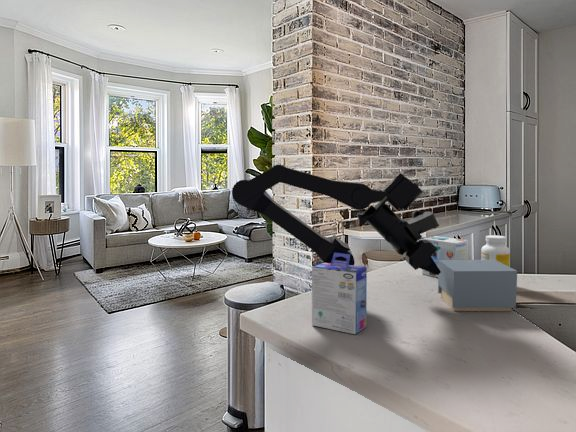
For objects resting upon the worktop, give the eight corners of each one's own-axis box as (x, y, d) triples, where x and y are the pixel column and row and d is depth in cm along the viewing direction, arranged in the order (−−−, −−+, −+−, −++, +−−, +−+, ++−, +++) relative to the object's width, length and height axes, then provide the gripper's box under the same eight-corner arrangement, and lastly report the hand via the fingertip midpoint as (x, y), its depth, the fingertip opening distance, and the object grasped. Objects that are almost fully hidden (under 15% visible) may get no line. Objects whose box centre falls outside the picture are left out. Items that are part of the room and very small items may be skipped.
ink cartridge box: (368, 326, 81) (368, 254, 80) (357, 336, 77) (356, 260, 75) (324, 317, 87) (323, 250, 85) (311, 326, 82) (309, 255, 80)
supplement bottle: (511, 284, 108) (513, 236, 106) (504, 290, 103) (506, 239, 102) (485, 280, 112) (486, 233, 111) (476, 285, 108) (478, 237, 106)
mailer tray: (453, 310, 89) (454, 299, 89) (441, 297, 98) (441, 287, 98) (511, 310, 88) (511, 299, 88) (493, 297, 97) (493, 287, 97)
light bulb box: (421, 274, 120) (421, 238, 119) (434, 270, 124) (435, 235, 123) (455, 281, 111) (456, 242, 110) (468, 277, 115) (469, 239, 114)
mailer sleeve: (453, 307, 88) (453, 271, 87) (437, 292, 99) (438, 260, 98) (515, 307, 87) (517, 270, 86) (493, 292, 98) (494, 259, 97)
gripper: (427, 203, 82) (482, 256, 82) (406, 197, 100) (451, 240, 101) (387, 242, 83) (441, 295, 84) (373, 229, 102) (418, 272, 102)
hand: (438, 273), depth 93 cm, fingers closed
